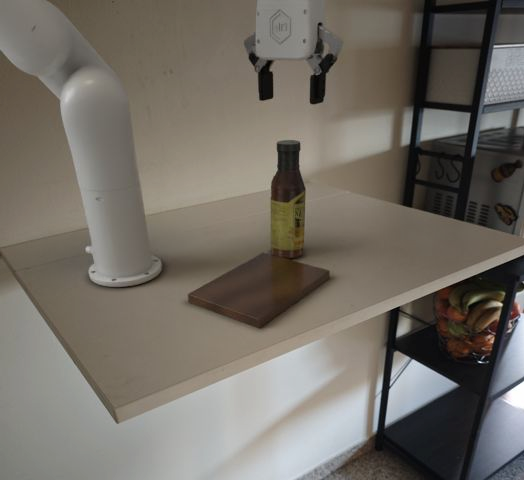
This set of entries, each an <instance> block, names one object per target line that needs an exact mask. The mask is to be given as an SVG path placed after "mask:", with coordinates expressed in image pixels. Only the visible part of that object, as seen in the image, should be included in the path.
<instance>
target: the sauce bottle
mask: <svg viewBox="0 0 524 480" xmlns="http://www.w3.org/2000/svg"><path fill="white" fill-rule="evenodd" d="M276 151H277V165H276V168H277V170H276V172H275V174H274V175H273V176H272V179H271V182H270V183H271V184H270V246H271V247H270V250H271V255H274V256H278V257H281V258H285V259H289V260H292V259H295V258H298V257H300V256H301V255H303V253H304V246H305V228H306V227H305V223H306V194H307V191H306V190H307V189H306V186H305V182H304V179H303V177H302V174H301V173H302V172H301V169H300V151H301V141H299V140H295V139H283V140H278V141H277V142H276Z"/></svg>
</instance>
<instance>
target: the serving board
mask: <svg viewBox="0 0 524 480" xmlns="http://www.w3.org/2000/svg"><path fill="white" fill-rule="evenodd" d="M330 272H331V271H330V270H329V269H325V268H322V267H319V266H314V265H310V264H307V263H304V262H299V261H295V260H292V259H285V258H281V257H278V256H274V255H273V254H270V253H266V252H261V253H259V254H258V255H256V256H254V257H252V258H251V259H249V260H247V261H245V262H243V263H241V264H240V265H237V266H235V267H234V268H233V269H231V270H228V271H226V272H225V273H223V274H222V275H220V276H218V277H216V278H214V279H212V280H211V281H209V282H207V283H206V284H203V285H202V286H200V287H197V288H196V289H195V290H193V291H190V292H189V293H187V300H188V303H190V304H191V305H195V306H198V307H199V308H203V309H205V310H209V311H211V312H214V313H217V314H219V315H222V316H225V317H227V318H231V319H232V320H236V321H238V322H241V323H244V324H247V325H249V326H252V327H254V328H258V329H261V328H262V327H264V326H265V325H266V324H268V323H269V322H271V321H272V320H273V319H275V318H276V317H277V316H279V315H280V314H282V313H283V312H285V311H286V310H287V309H289V308H290V307H292V306H294V304H296V303H298V302H299V301H300V300H301V299H303V298H304V297H306V296H307V295H309V294H310V293H311V292H313V291H314V290H315V289H316V288H318V287H320V286H321V285H322V284H324V283H325V282H327V281H328V280H329V279H330V274H331V273H330Z"/></svg>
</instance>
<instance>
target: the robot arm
mask: <svg viewBox="0 0 524 480" xmlns="http://www.w3.org/2000/svg"><path fill="white" fill-rule="evenodd" d="M325 9H326V7H325V0H257V1H256V13H255V31H254V32H253V33H252V34H250V35H249V36H248V37H247V38H246V39H244V40H243V46H244V48H245V51H246V54H247V56H248V60H249V62H250V63H251V65H252V66H253V70H254V72H255V73H257V89H258V90H257V91H258V100H259V101H260V102H262V101H263V102H264V101H267V100H268V101H269V100H272V99H273V98H274V73H273V72H274V71H271V70H270V69H272V66H274V63H275V62H276V61H290V62H291V61H305V60H306V62H307V64H308V66H309V67H310V69H311V70H312V72H313V74H311V75H310V77H309V104H310V105H313V106H314V105H318V104H322V103H324V101H325V97H326V88H327V87H326V86H327V83H326V82H327V74H329V73H330V71H331V70H330V69H331V68H332V67H333V66H334V64H336V63H337V61H338V56H339V55H340V52H341V50H342V48H343V46H344V40H343V38H341V37H340V36H338V35H337V34H335V32H333V31H332V30H330V29H328V28H327V27H326V10H325ZM326 44H327V45H328V52H327V53H326V55H325V56H324V53H325V46H326ZM0 52H2V54H4V56H5V57H6V58H7V60H9V62H10V63H11V64H12V65H14V66H15V67H16V68H17V69H18V70H20V71H22V72H24V73H26V74H27V75H30V76H35V77H37V78H38V80H39V81H41V83H43V84H44V86H46V88H48V89H49V91H50V92H52V93H53V95H54V96H55V97H56V98H57V99H58V100H59V107H60V116H61V120H62V124H63V128H64V131H65V135H66V139H67V143H68V147H69V150H70V153H71V158H72V162H73V166H74V170H75V176H76V179H77V184H78V187H79V191H80V196H81V200H82V205H83V211H84V214H85V219H86V223H87V227H88V233H89V237H90V243H91V245H87V246H86V247H85V253H87V254H90V255H92V258H93V263H92V264H91V265H90V267H88V276H89V280H91V281H92V282H93V283H95V284H96V285H99V286H104V287H110V288H123V287H125V288H126V287H131V286H137V285H141V284H144V283H146V282H149V281H152V280H153V279H155V278H156V277H158V275H160V273H161V272H162V271H163V265H162V260H161V259H160V258H159V257H157V256H156V255H153V254H152V250H151V244H150V237H149V231H148V224H147V223H148V222H147V217H146V210H145V203H144V198H143V197H144V196H143V191H142V185H141V179H140V178H141V177H140V172H139V166H138V159H137V152H136V146H135V145H136V144H135V138H134V129H133V121H132V114H131V106H130V103H129V97H128V94H127V91H126V88H125V85H124V84H123V82H122V80H121V79H120V78H119V77H118V75H117V74H116V73H115V71H114V70H113V69H112V68H111V67H110V66H109V65H108V64H107V62H106V61H105V60H104V58H103V57H102V56H101V55H100V54H99V53H98V52H97V51H96V49H94V47H93V46H92V45H91V43H89V41H88V40H87V39H86V37H84V36H83V34H82V33H81V32H80V31H79V30H78V28H76V26H75V25H74V24H73V23H72V22H71V20H70V19H69V18H68V17H67V16H66V15H65V14H64V12H62V10H60V9H59V7H57V6H55V5H54V4H53V3H51V2H50V1H48V0H0Z"/></svg>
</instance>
